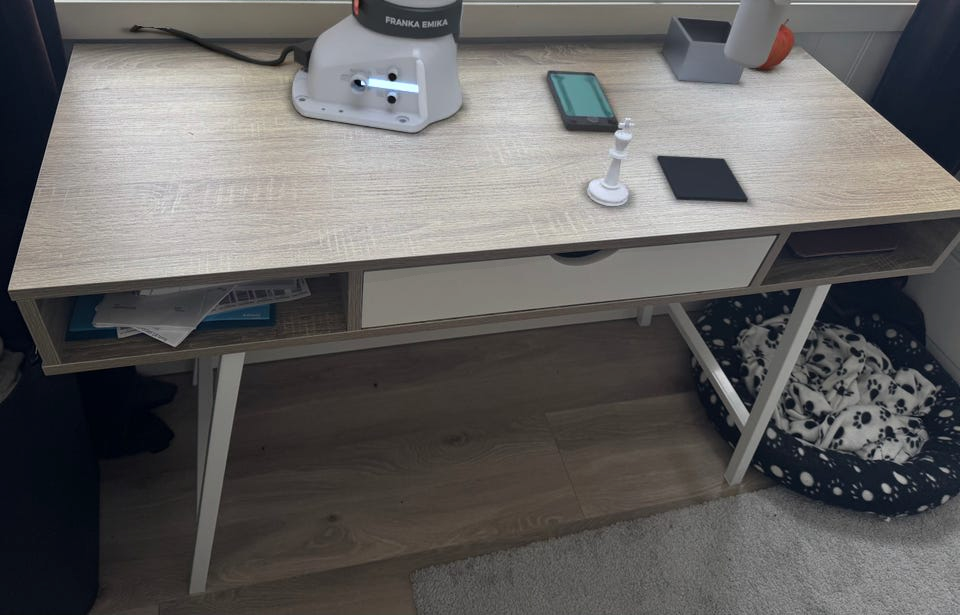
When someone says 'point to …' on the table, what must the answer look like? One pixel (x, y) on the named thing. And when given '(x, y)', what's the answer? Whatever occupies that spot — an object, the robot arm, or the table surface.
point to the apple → (779, 47)
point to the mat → (701, 179)
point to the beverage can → (754, 32)
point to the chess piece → (613, 172)
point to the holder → (700, 50)
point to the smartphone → (581, 101)
